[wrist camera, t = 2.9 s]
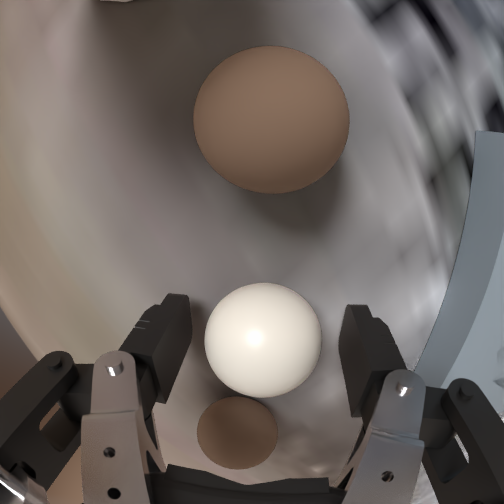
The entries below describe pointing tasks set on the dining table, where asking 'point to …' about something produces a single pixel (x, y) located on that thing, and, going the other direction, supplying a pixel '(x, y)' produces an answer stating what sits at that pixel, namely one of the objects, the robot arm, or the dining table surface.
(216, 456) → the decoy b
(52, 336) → the dining table surface
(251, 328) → the ball
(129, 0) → the white cup
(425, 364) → the blue-grey square plate
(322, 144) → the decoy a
